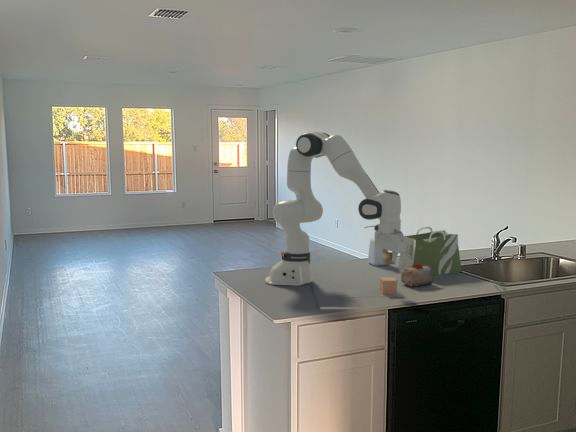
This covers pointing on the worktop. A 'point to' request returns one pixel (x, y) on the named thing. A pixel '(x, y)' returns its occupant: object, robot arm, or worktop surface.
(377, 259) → the soap bottle
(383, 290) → the base block
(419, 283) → the food item
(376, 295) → the baseplate
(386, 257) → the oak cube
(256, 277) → the worktop surface
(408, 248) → the grocery bag
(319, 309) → the worktop surface
